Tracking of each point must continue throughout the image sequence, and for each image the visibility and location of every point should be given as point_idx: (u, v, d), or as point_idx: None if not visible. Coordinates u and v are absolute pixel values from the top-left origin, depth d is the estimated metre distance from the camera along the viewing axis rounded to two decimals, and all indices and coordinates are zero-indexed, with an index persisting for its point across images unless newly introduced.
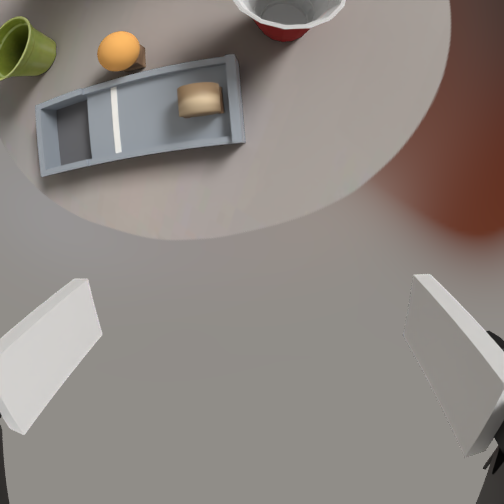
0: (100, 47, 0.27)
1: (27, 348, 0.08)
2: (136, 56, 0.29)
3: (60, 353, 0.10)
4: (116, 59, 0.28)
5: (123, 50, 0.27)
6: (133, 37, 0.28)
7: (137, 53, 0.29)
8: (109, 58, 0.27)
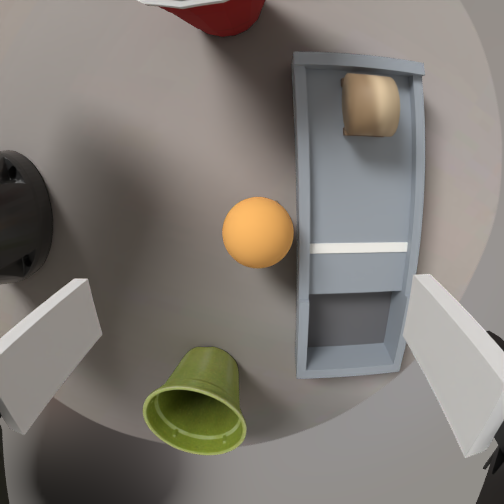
0: (251, 259, 0.21)
1: (27, 348, 0.08)
2: (274, 201, 0.22)
3: (60, 353, 0.10)
4: (282, 230, 0.21)
5: (268, 216, 0.21)
6: (241, 203, 0.22)
7: (269, 199, 0.22)
8: (278, 242, 0.21)
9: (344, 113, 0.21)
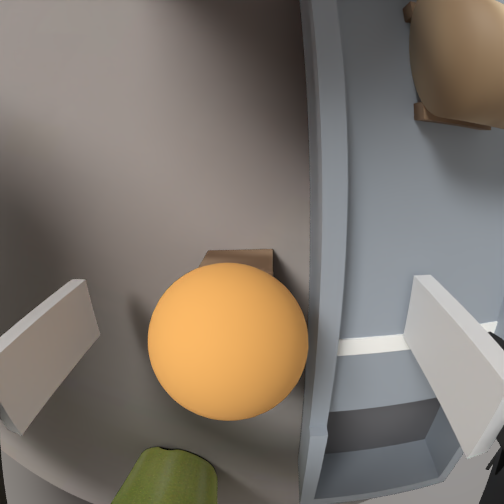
0: (210, 417, 0.08)
1: (24, 349, 0.08)
2: (265, 275, 0.09)
3: (58, 354, 0.10)
4: (282, 361, 0.08)
5: (247, 334, 0.08)
6: (182, 287, 0.09)
7: (254, 271, 0.09)
8: (272, 390, 0.08)
9: (420, 72, 0.08)
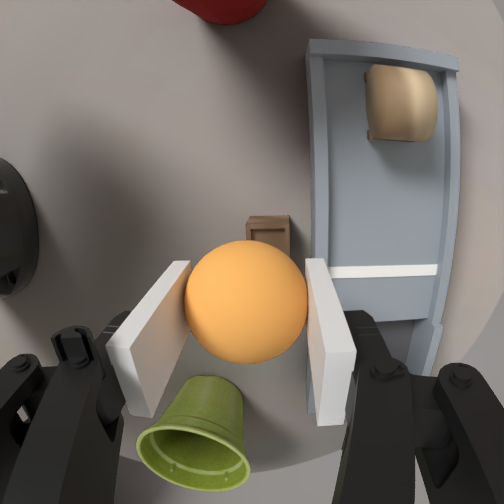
0: (239, 357, 0.11)
1: (156, 326, 0.10)
2: (275, 248, 0.13)
3: (175, 332, 0.11)
4: (295, 304, 0.11)
5: (271, 282, 0.11)
6: (217, 254, 0.12)
7: (267, 244, 0.13)
8: (288, 327, 0.11)
9: (369, 113, 0.17)
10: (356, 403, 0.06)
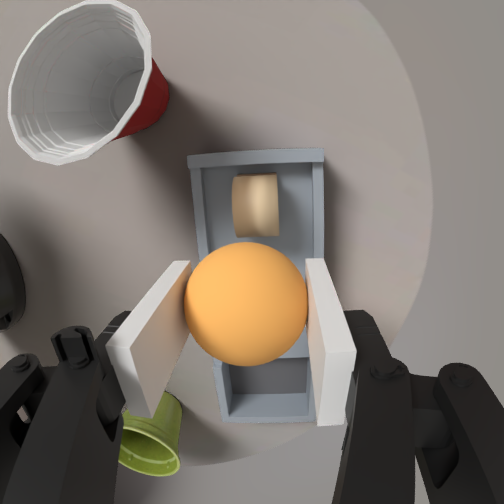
0: (239, 359, 0.11)
1: (156, 326, 0.10)
2: (275, 250, 0.13)
3: (175, 332, 0.11)
4: (295, 307, 0.11)
5: (271, 284, 0.11)
6: (216, 256, 0.12)
7: (267, 246, 0.13)
8: (288, 329, 0.11)
9: None
10: (356, 403, 0.06)
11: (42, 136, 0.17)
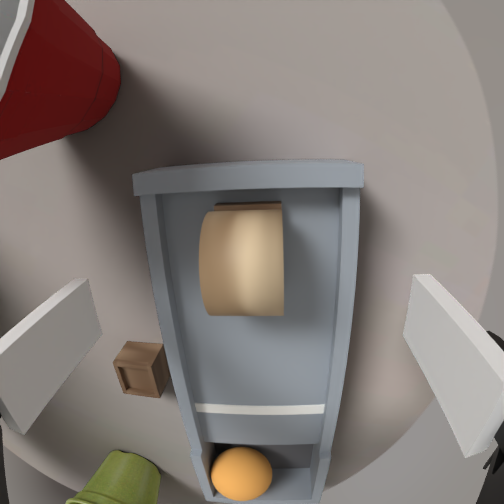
0: None
1: (27, 348, 0.08)
2: (249, 493, 0.19)
3: (60, 353, 0.10)
4: None
5: None
6: (223, 495, 0.20)
7: (244, 495, 0.19)
8: None
9: None
10: None
11: None
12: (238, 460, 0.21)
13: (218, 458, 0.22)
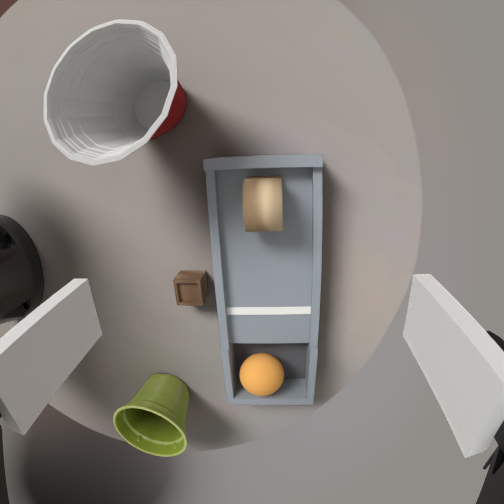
0: None
1: (27, 348, 0.08)
2: (274, 382, 0.32)
3: (60, 353, 0.10)
4: None
5: None
6: (254, 391, 0.32)
7: (271, 384, 0.32)
8: None
9: None
10: None
11: (75, 138, 0.20)
12: (261, 358, 0.33)
13: (244, 363, 0.34)
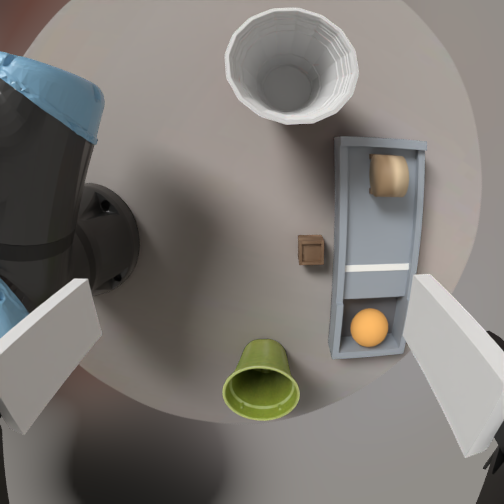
0: None
1: (27, 348, 0.08)
2: (387, 328, 0.37)
3: (60, 353, 0.10)
4: None
5: None
6: (373, 341, 0.37)
7: (386, 330, 0.37)
8: None
9: (371, 179, 0.32)
10: None
11: (252, 100, 0.24)
12: (372, 311, 0.38)
13: (359, 319, 0.38)
